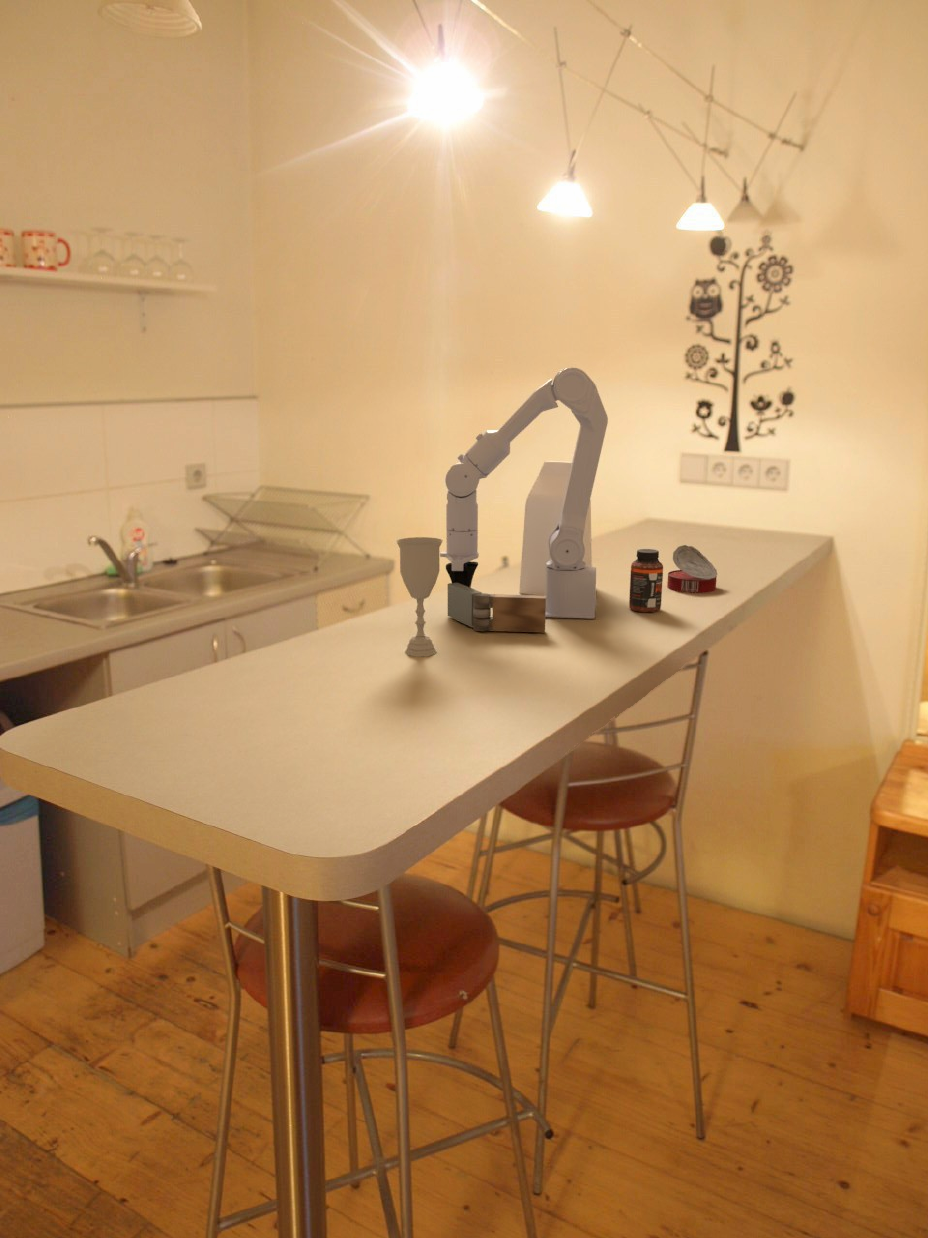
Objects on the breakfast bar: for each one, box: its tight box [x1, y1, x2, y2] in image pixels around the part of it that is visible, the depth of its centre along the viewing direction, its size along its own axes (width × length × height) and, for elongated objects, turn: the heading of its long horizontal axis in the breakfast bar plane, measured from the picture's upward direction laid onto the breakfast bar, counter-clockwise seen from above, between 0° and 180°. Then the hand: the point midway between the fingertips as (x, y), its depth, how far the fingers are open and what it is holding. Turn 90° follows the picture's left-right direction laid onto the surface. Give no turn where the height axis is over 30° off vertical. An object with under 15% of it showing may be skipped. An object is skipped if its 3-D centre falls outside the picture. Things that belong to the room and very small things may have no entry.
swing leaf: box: [447, 582, 492, 628], centre depth 176 cm, size 12×3×6 cm, turn 29°
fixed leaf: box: [472, 592, 547, 633], centre depth 171 cm, size 12×3×6 cm, turn 83°
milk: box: [519, 460, 593, 596], centre depth 201 cm, size 12×12×26 cm
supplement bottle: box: [628, 548, 664, 613], centre depth 186 cm, size 6×6×11 cm
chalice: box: [396, 536, 443, 657], centre depth 158 cm, size 7×7×18 cm
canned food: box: [666, 544, 718, 594], centre depth 205 cm, size 11×10×10 cm
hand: (461, 601), depth 185 cm, fingers closed
